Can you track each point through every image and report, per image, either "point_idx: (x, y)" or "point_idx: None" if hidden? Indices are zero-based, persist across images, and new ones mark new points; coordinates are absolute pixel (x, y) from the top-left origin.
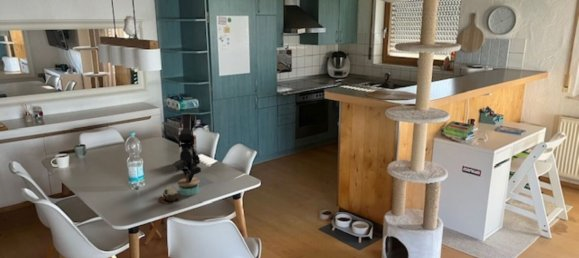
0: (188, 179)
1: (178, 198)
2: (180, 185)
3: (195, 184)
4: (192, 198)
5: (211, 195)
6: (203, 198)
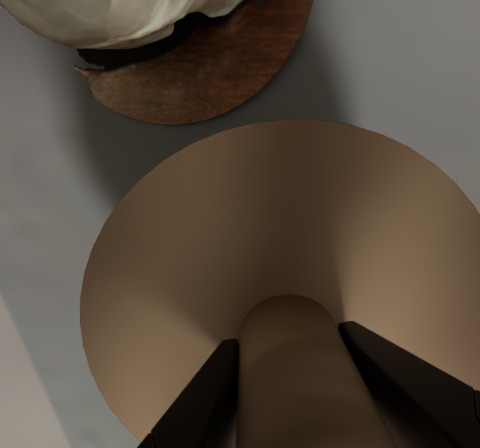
0: (242, 362)
1: (136, 78)
2: (205, 139)
3: (103, 382)
4: (77, 227)
5: (75, 402)
6: (33, 321)
